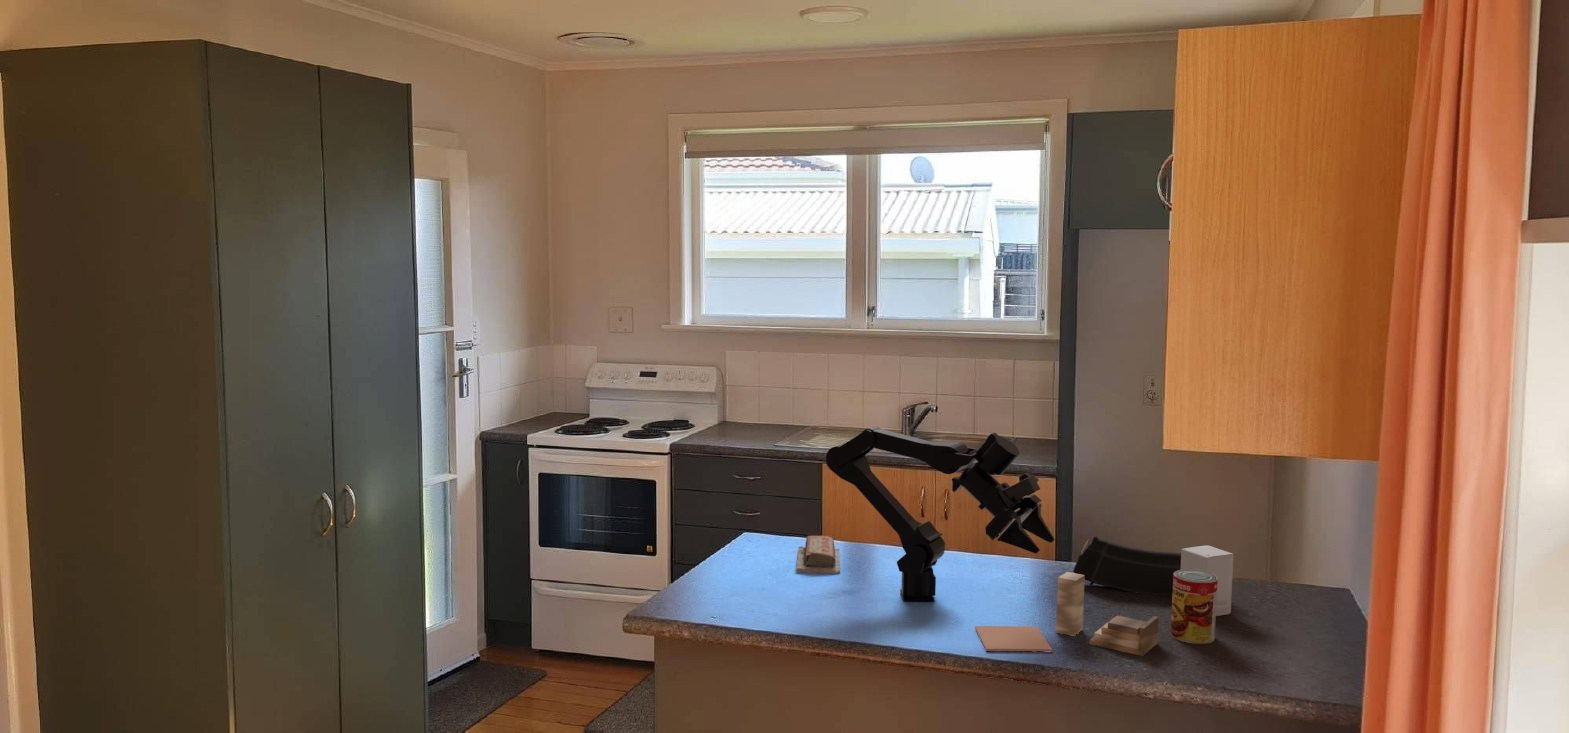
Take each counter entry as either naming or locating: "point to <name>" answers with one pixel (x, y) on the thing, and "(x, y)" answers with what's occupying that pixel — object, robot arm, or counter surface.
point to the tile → (1012, 638)
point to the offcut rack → (1127, 635)
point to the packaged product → (818, 556)
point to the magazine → (1128, 567)
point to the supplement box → (1212, 571)
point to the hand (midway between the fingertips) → (1045, 546)
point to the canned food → (1194, 606)
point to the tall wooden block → (1070, 603)
